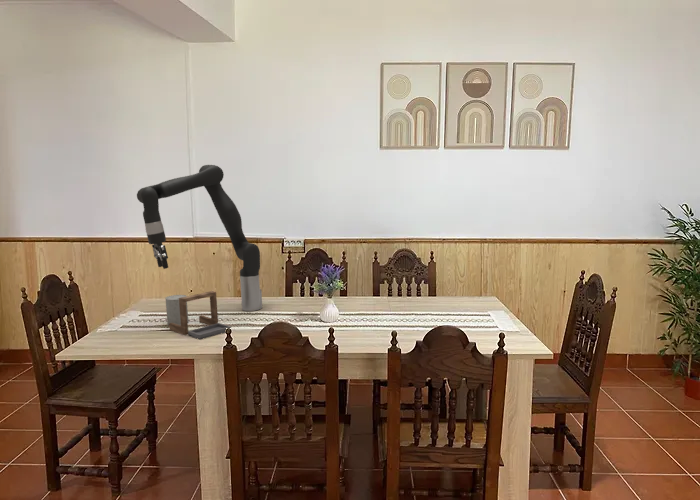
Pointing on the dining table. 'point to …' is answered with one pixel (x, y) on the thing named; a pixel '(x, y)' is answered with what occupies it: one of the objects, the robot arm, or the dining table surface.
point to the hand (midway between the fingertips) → (163, 267)
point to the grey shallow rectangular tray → (208, 331)
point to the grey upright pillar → (174, 309)
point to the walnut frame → (202, 319)
